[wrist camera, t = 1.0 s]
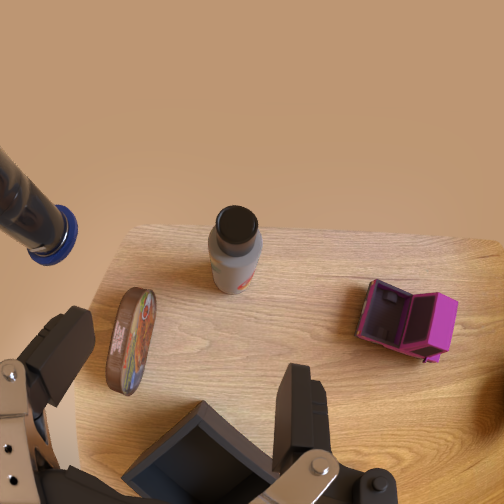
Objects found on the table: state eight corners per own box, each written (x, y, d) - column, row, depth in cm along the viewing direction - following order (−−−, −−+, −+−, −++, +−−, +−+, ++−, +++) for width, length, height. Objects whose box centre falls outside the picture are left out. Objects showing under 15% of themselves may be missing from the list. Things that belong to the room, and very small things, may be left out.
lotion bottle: (258, 271, 46) (281, 215, 27) (237, 302, 45) (245, 265, 26) (227, 250, 47) (229, 182, 28) (205, 280, 45) (191, 228, 26)
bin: (140, 454, 36) (120, 478, 26) (203, 399, 40) (196, 413, 30) (208, 511, 34) (205, 543, 24) (272, 459, 37) (285, 485, 28)
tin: (139, 393, 39) (121, 401, 31) (120, 386, 39) (98, 393, 31) (161, 296, 44) (147, 284, 36) (141, 291, 44) (124, 278, 36)
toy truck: (424, 367, 43) (461, 367, 34) (348, 342, 44) (378, 338, 34) (438, 309, 47) (474, 298, 37) (367, 279, 47) (398, 261, 38)
